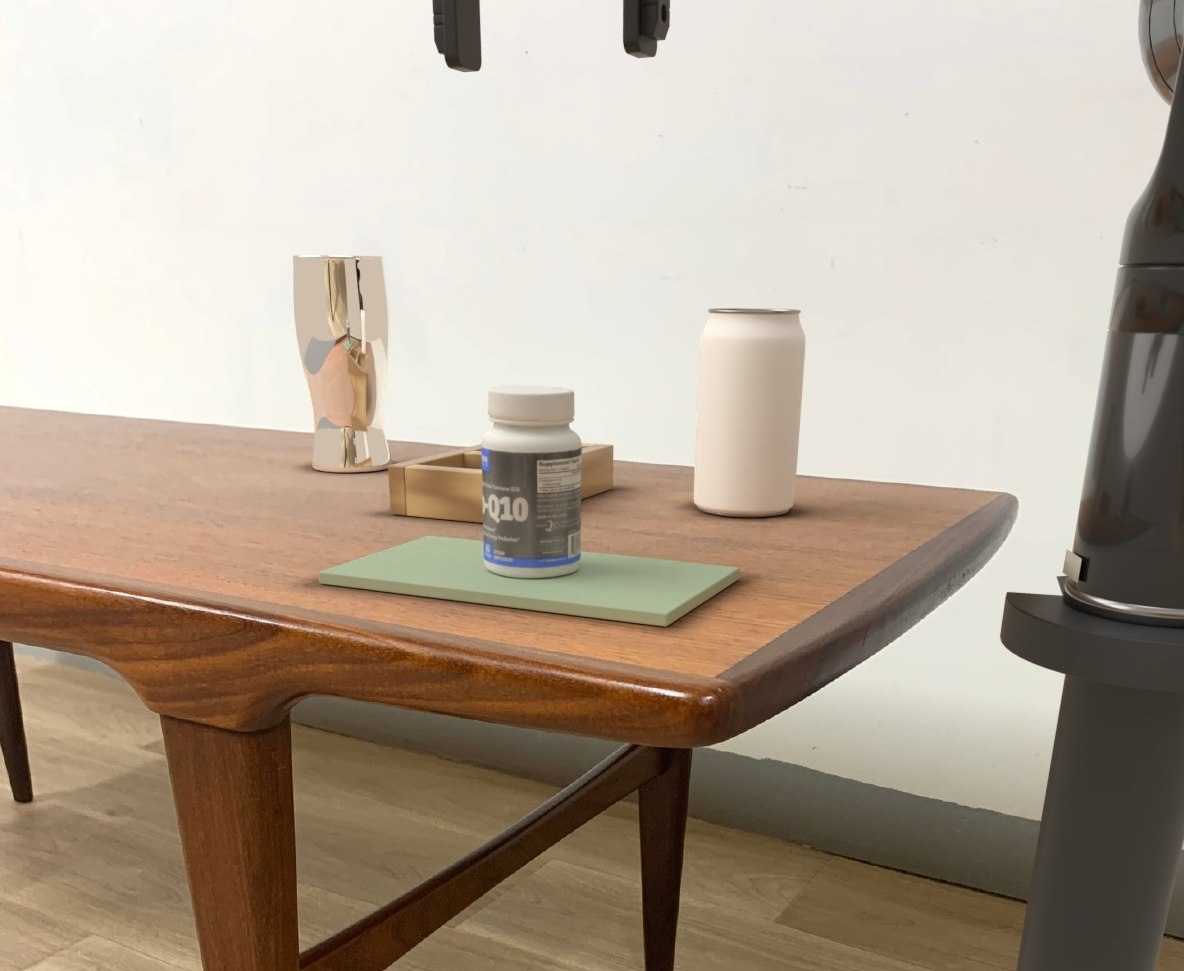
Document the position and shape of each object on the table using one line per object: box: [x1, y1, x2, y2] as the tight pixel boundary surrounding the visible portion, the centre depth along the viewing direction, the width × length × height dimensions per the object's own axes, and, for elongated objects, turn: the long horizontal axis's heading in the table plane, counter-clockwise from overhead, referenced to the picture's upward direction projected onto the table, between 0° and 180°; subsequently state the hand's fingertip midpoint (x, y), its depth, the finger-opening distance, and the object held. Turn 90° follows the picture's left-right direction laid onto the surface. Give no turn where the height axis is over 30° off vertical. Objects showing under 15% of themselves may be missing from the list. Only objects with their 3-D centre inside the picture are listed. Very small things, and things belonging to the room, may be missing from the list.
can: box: [693, 307, 806, 518], centre depth 76 cm, size 6×6×12 cm
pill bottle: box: [481, 385, 582, 579], centre depth 58 cm, size 5×5×8 cm
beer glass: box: [291, 254, 393, 474], centre depth 92 cm, size 7×7×15 cm
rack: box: [387, 442, 614, 524], centre depth 80 cm, size 8×16×3 cm, turn 156°
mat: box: [318, 535, 741, 628], centre depth 59 cm, size 18×10×1 cm, turn 65°
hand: (548, 63), depth 53 cm, fingers open, 8 cm apart
